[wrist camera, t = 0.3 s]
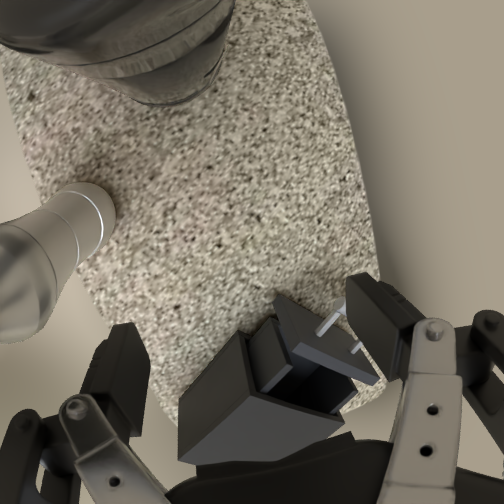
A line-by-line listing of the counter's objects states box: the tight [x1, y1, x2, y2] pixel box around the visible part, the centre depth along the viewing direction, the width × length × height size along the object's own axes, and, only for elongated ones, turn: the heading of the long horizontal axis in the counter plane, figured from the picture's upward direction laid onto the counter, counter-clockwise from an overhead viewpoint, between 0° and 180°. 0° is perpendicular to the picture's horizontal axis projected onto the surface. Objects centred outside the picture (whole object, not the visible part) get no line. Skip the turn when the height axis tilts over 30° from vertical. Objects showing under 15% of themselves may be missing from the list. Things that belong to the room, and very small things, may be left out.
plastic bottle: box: [0, 182, 116, 344], centre depth 16 cm, size 6×7×20 cm
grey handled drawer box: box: [178, 330, 345, 465], centre depth 32 cm, size 14×13×10 cm
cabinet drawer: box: [246, 294, 380, 415], centre depth 30 cm, size 17×11×8 cm
